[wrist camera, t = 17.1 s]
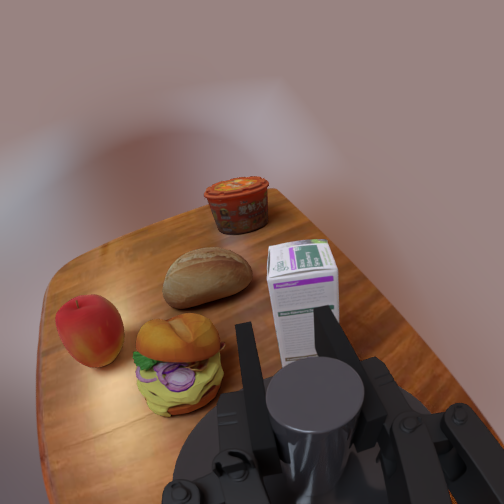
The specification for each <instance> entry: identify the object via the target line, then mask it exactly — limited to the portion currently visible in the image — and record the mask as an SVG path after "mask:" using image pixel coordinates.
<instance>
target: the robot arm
mask: <svg viewBox="0 0 504 504" xmlns="http://www.w3.org/2000/svg"><path fill="white" fill-rule="evenodd" d="M313 314H314V340H315V350H316V352H317V355H318V357H320V356H321V357H330V358H334V359H338V360H340V361H343V362H344V363H346V364H348V365H349V366H351V367H352V368H353V369H354V370H355V371H356V372H357V373H358V375H359V376H360V378H361V380H362V382H363V385H364V392H365V395H364V401H363V406H362V410H361V414H360V418H359V422H358V426H357V430H356V434H355V437H354V441H353V444H354V446H355V449H356V451H357V453H359V452H362V451H364V450H367V449H370V448H373V447H375V445H376V442H378V445H379V447H380V451H379V453H378V455H377V457H376V463H379V461H380V462H381V467H382V471H383V476H384V481H385V486H386V491H387V496H388V501H389V504H452V502H451V498H450V495H449V491H448V489H449V490H450V492H451V494H452V495H453V497H454V498H455V500H456V502H457V503H458V504H504V449H503V448H502V447H501V445H500V444H499V443H498V441H497V440H496V439H495V438H494V436H493V435H492V434H491V432H490V431H489V430H488V429H487V427H486V426H485V425H484V423H483V422H482V421H481V420H480V418H479V417H478V416H477V415H476V413H475V412H474V411H473V410H472V409H471V408H470V407H469V406H468V405H466V404H463V403H455V404H453V405H451V406H450V407H449V408H448V409H447V410H446V412H441V413H435V414H420V413H418V412H416V411H414V410H413V409H412V408H411V407H410V405H409V404H408V402H407V400H406V399H405V397H404V395H403V393H402V392H401V390H400V388H399V387H398V385H397V383H396V382H395V381H394V378H393V377H392V375H391V374H390V372H389V370H388V368H387V367H386V365H385V364H384V363H383V362H382V361H381V360H379V359H378V358H377V357H372V358H369V359H366V360H363V361H360V360H359V358H358V357H357V355H356V353H355V351H354V349H353V348H352V346H351V344H350V342H349V340H348V339H347V337H346V335H345V333H344V331H343V330H342V328H341V326H340V324H339V323H338V321H337V319H336V317H335V316H334V314H333V312H332V310H331V309H330V307H329V305H325V306H320V307H316V308H313ZM235 329H236V337H237V345H238V353H239V361H240V369H241V376H242V384H243V390H242V391H236V392H230V393H223V394H221V395H220V397H219V400H218V402H217V421H218V437H219V451H220V452H219V453H218V454H217V455H216V456H215V457H214V459H213V461H212V472H211V473H209V474H207V475H206V476H203V477H200V478H197V479H195V480H192V481H190V480H186V479H176V480H173V481H171V482H169V483H168V484H167V485H166V487H165V488H164V491H163V495H162V504H272V503H271V500H270V497H269V495H268V492H267V490H266V487H265V485H264V479H263V477H264V476H270V475H275V474H281V473H283V472H282V467H281V463H280V458H279V454H278V450H277V446H276V441H275V437H274V433H273V429H272V426H271V423H270V419H269V415H268V410H267V406H266V400H265V397H266V391H265V387H264V382H263V377H262V372H261V367H260V362H259V357H258V352H257V348H256V343H255V338H254V333H253V329H252V324H251V322H246V323H241V324H236V325H235Z"/></svg>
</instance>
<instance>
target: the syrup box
mask: <svg viewBox="0 0 504 504" xmlns="http://www.w3.org/2000/svg"><path fill="white" fill-rule="evenodd" d="M267 282H268V287H269V293H270V298H271V304H272V310H273V316H274V323H275V328H276V334H277V340H278V346H279V352H280V357H281V363H282V368H283V367H284V366H286V365H287V364H289V363H291V362H294V361H296V360H299V359H303V358H307V357H318V355H317V352H316V350H315V340H314V314H313V308H316V307H320V306H325V305H329V307H330V309H331V310H332V312H333V314H334V316H335V317H336V319H337V321H338V323H339V291H338V268H337V266H336V263H335V261H334V258H333V255H332V253H331V250H330V248H329V245H328V242H327V240H326V239H315V240H302V241H295V242H288V243H283V244H279V245H274V246H269V254H268V261H267Z"/></svg>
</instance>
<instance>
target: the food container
mask: <svg viewBox="0 0 504 504" xmlns="http://www.w3.org/2000/svg"><path fill="white" fill-rule="evenodd" d="M268 186H269V182H268V181H267V180H265V179H264V178H263V179H262V178H261V177H257V176H254V177H253V176H251V177H247V178H246V177H239V178H233V179H230V180H228V181H221V182H218V183H216V184H213V185H212V187H208V188H207V189H206V192H205V193H204V197H205V198H207V200H208V203H209V205H210V208H211V211H212V214H213V216H214V219H215V222H216V225H217V228H218V230H219V231H220V232H221V233H223V234H242V233H247V232H251V231H254V230H257V229H259V228H261V227H263V226H264V225H265V224H266V223H267V222H268V197H267V187H268Z"/></svg>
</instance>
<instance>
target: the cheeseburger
mask: <svg viewBox="0 0 504 504" xmlns="http://www.w3.org/2000/svg"><path fill="white" fill-rule="evenodd" d="M225 345H226V344H225V342H221V343H220V337H219V334H218V331H217V329H216V328H215V326H214V325H213V323H212V322H211V320H210V319H208V318H206V317H204V316H202V315H200V314H195V313H185V314H181V315H178V316H175V317H173V318H171V319H169V320H162V319H154V320H150V321H148V322H147V323H146V324H144V325H143V326H142V327H141V329H140V331H139V333H138V335H137V339H136V350H137V351H138V352H133V359H134V363H135V364H136V376H137V378H138V379H137V385H138V389H139V391H140V392H141V394H142V395H143V396H144V397H145V400H146V401H147V404H148V406H149V408H150V409H151V410H152V411H153V412H154V413H155V414H158V415H161V416H165V417H171V415H177V414H183V413H189V412H191V411H194V410H196V409H198V408H200V407H203V406H204V405H206V404H207V403H208V402H210V401H211V400H212V399H213V398H215V396H216V394H217V392H218V390H219V388H220V386H221V380H222V377H223V375H224V372H223V369H222V367H221V362H220V353H219V351H221V350H223V348H224V347H225ZM170 414H171V415H170Z"/></svg>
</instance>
